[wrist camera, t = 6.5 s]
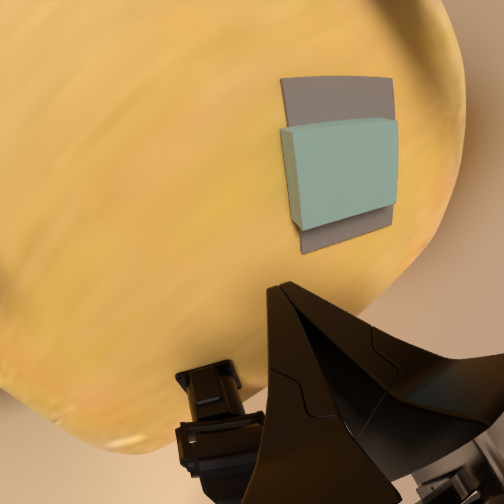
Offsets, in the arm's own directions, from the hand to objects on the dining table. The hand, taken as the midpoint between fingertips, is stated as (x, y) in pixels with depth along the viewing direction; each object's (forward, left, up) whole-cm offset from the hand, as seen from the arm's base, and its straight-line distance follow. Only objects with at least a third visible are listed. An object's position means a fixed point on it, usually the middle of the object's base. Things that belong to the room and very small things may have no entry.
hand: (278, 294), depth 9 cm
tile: (0, -5, -10) cm, 11 cm away
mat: (0, -10, -11) cm, 16 cm away
